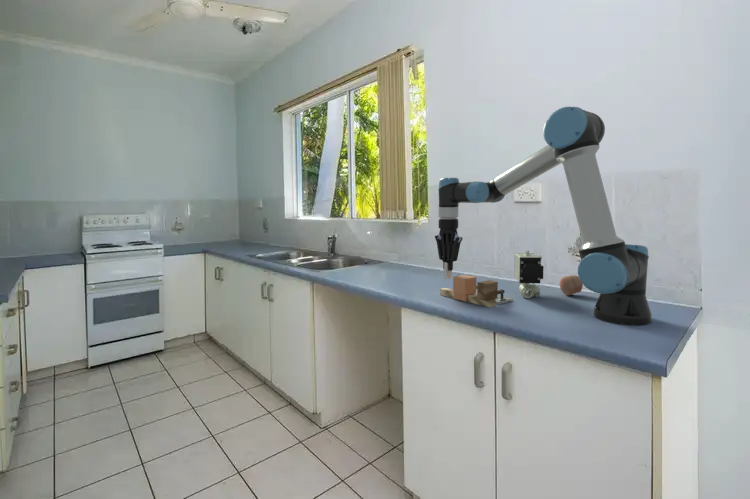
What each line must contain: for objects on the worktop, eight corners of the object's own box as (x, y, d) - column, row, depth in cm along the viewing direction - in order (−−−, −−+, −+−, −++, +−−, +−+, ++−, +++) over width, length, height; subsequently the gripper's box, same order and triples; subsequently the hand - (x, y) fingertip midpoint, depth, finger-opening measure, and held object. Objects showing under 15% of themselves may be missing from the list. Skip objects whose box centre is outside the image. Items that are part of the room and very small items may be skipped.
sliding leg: (485, 297, 152) (486, 275, 151) (464, 301, 146) (465, 279, 145) (473, 294, 157) (474, 273, 156) (453, 298, 151) (453, 276, 150)
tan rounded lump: (581, 294, 156) (582, 274, 155) (582, 298, 149) (583, 277, 148) (559, 292, 159) (559, 272, 158) (559, 296, 152) (560, 276, 151)
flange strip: (513, 301, 147) (513, 298, 147) (497, 304, 142) (497, 301, 142) (468, 290, 165) (468, 288, 165) (452, 294, 160) (452, 291, 160)
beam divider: (508, 303, 144) (509, 280, 143) (487, 308, 137) (487, 284, 136) (457, 291, 164) (458, 271, 163) (437, 295, 158) (437, 274, 157)
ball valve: (544, 302, 144) (546, 253, 142) (520, 301, 146) (521, 253, 144) (535, 291, 161) (536, 248, 159) (513, 291, 163) (514, 248, 161)
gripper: (467, 218, 150) (467, 279, 153) (443, 217, 161) (443, 274, 164) (453, 219, 146) (453, 282, 149) (429, 218, 157) (429, 277, 160)
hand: (447, 278), depth 156 cm, fingers closed
